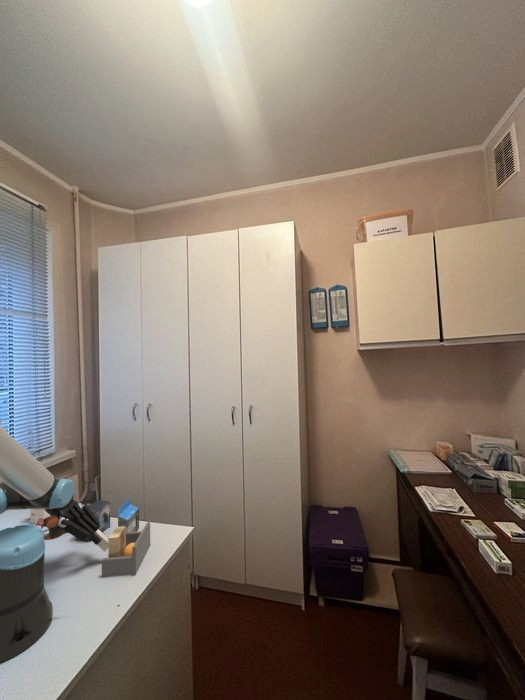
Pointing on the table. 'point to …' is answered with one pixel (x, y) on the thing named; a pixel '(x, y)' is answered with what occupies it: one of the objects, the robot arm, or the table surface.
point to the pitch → (129, 563)
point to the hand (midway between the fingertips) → (108, 546)
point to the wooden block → (117, 542)
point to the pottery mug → (52, 528)
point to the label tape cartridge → (128, 517)
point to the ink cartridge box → (38, 516)
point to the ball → (128, 550)
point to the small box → (100, 515)
